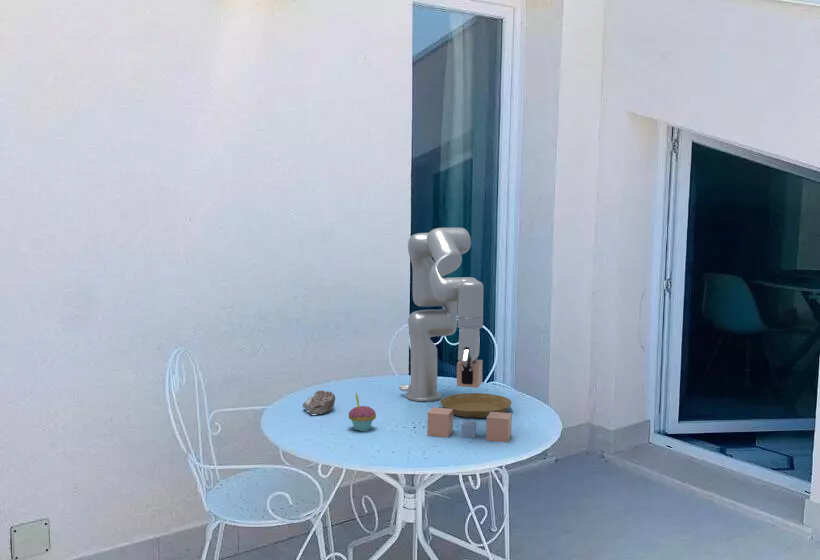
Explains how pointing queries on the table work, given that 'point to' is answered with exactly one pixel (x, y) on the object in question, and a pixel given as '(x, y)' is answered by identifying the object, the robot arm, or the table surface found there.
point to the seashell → (320, 402)
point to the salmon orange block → (498, 426)
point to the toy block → (476, 373)
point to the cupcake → (362, 416)
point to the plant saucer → (475, 404)
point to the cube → (468, 429)
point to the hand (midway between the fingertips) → (469, 380)
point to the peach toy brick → (440, 422)
